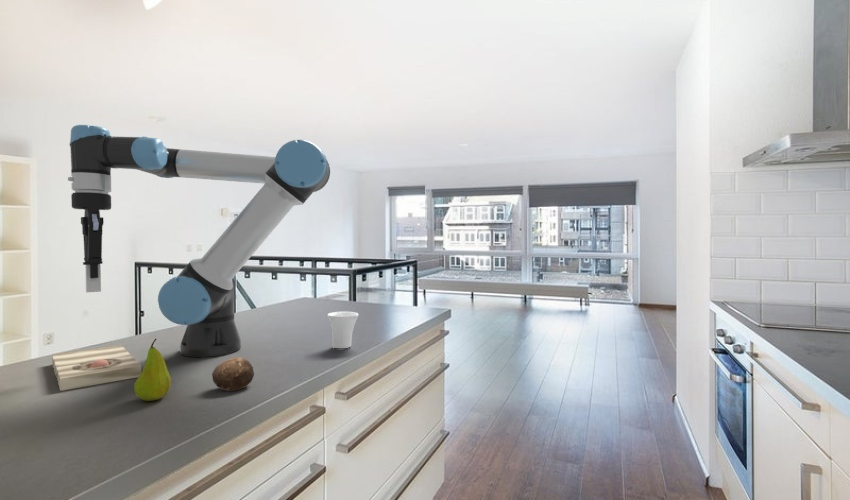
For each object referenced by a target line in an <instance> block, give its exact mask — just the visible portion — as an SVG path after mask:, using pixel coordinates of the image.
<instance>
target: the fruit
mask: <svg viewBox="0 0 850 500" xmlns="http://www.w3.org/2000/svg"><path fill="white" fill-rule="evenodd" d="M156 341H157V338H155V339H154V340H153V341H152V342H151V345H150V348H149V349H148V352H147V356H146V360H145V364H144V366H143V369H142V370H141V374H140V376H139V377H137V379H136V380H135V382H134V387H133V388H134V389H133V391H134V395H135V396H136V397H138V398H139V399H141V400H143V401H145V402H147V401H148V402H150V401H152V402H153V401H157V400H160V399H161V398H163V397H164V396H166V395H167V394H168V391H169V390H170V388H171V385H172V378H171V374H170V373H169V370H168V367H167V364H166V360H165V359H164V357H163V355H162V354H161V352H160V351H159V350H158V349H157V348H156V347H153V346H154V344H155V342H156Z"/></svg>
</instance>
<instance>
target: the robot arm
mask: <svg viewBox="0 0 850 500" xmlns="http://www.w3.org/2000/svg"><path fill="white" fill-rule="evenodd" d="M69 148H70V163H71V164H70V166H71V167H70V171H71V173H70V175H71V176H69V177H67V181H68V182H72V183H71V184H70V185H71V190H72V191H74V192H72V193H71V197H70V198H71V208H72V209H74V210H84V213H83V215H84V216H82V217H80V224H81V226H82V227H81V229H82V230H81V231H82V233H81V234H82V236H83V255H84V258H83V260H84V261H83V262H82V265H83V266H85V292H86V293H99V292H102V284H101V283H102V281H101V280H102V279H101V277H102V275H101V274H102V273H101V265H102V264H103V262H104V261H103V257H102V256H103V255H102V254H103V252H102V251H103V250H102V249H103V246H102V245H103V226H104V222H105V221H104V217H101V213H100V212H101V211H109V210H111V209H112V196H111V194H110V193H111V192H112V174H111V171H112V169H124V170H125V169H126V170H138V171H141V172H145V173H148V174H150V175H151V174H152V175H155V176H157V177H160V178H166V179H172V178H185V179H186V178H187V179H200V180H212V181H213V180H214V181H222V182H223V181H225V182H236V183H237V182H239V183H252V184H254V183H255V184H263V186H262V187H260V189H259V190H258V191H257V193H256V194H255V195H254V196H253V198H252V199H251V200H250V201H249V202H248V203H247V204H246V205H245V207H244V208H243V209H242V211H240V212H239V214H238V215H237V216H236V217H235V219H233V220H232V222H231V223H230V224H229V226H228V227H227V228H226V229H225V230H224V232H223V233H221V235H220V236H219V237H218V239H217V240H216V241H215V242H214V243H213V244H212V245H211V246H210V248H209V249H208V250H207V251H206V253H205V254H204V255H203V256H202V257H201V258H193V259H191V260H190V261H189V263H188V264H187V265H186V266H185V267H184V268H183V270H181V272H180V273H179V274H178V275H177V276H174V277H172V278H170V279H169V280H168V281H167V280H166V282H165V283H164V284H163V285H162V286H161V288H160V290H159V291H158V295H157V302H158V308H159V310H160V313H161V314H162V315H163V316H164V318H166V319H167V320H168V321H170V322H171V323H173V324H175V325H180V326H186V328H185V330H184V334H183V337H182V340H181V343H180V345H179V346H180V347H179V348H180V354H181V355H182V356H184V357H192V358H193V357H195V358H204V357H205V358H207V357H216V356H222V355H223V356H224V355H228V354H232V353H235V352H237V351H240V349H241V348H242V339H241V335H240V334H239V330H238V328H237V325H236V322H235V287H236V286H235V284H236V283H235V282H236V278H235V277H236V275H237V274H238V272H240V270H241V269H242V267H244V265H245V264H246V263H247V262H248V261H249V259H250V258H251V257H252V256H253V255H254V253H255V252H256V251H257V250H258V248H260V246H261V245H263V243H264V242H265V241H266V240H267V238H269V235H271V234H272V232H273V231H274V229H275V228H276V227H277V226H278V225H279V224H280V223H281V222H282V220H283V219H284V217H286V215H288V213H289V212H290V211H291V210H292V208H294V206H301V205H304V204H305V202H306V201H307V200H308V199H309V198H310V197H311V195H312V194H313V193H315V192H316V193H317V192H318V191H320V190H322V189H323V188H324V187H325V186H326V185H327V183H328V182H329V180H330V175H331V167H330V164H329V162H328V160H327V157H326V155H325V153H324V151H323V150H322V149H320V147H319V146H317V145H316V144H315V143H314V142H311V141H308V140H305V139H293V140H290V141H288V142H286V143H284V144H282V145H281V147H280V148H279V149H278V151H277V152H276V154H275V156H267V155H255V154H254V155H253V154H241V153H230V152H229V153H227V152H219V151H218V152H217V151H205V150H193V149H180V148H179V149H178V148H167V147H166V145H165V144H164V142H163V141H162V140H161V139H159V138H157V137H148V136H114V135H113V136H112V135H111V132H110V130H109V129H107V128H106V127H102V126H97V125H90V124H77V125H74V126H72V127H71V129H70V141H69Z"/></svg>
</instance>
